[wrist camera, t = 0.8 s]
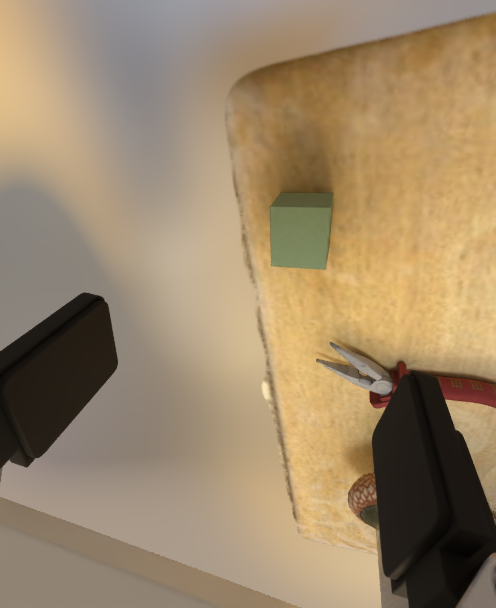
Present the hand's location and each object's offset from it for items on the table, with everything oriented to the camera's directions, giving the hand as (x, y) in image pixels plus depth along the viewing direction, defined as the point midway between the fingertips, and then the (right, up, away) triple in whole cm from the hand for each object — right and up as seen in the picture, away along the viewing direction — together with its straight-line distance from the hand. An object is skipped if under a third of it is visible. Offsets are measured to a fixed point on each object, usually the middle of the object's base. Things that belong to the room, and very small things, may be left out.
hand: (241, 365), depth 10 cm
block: (+5, +9, +19) cm, 21 cm away
